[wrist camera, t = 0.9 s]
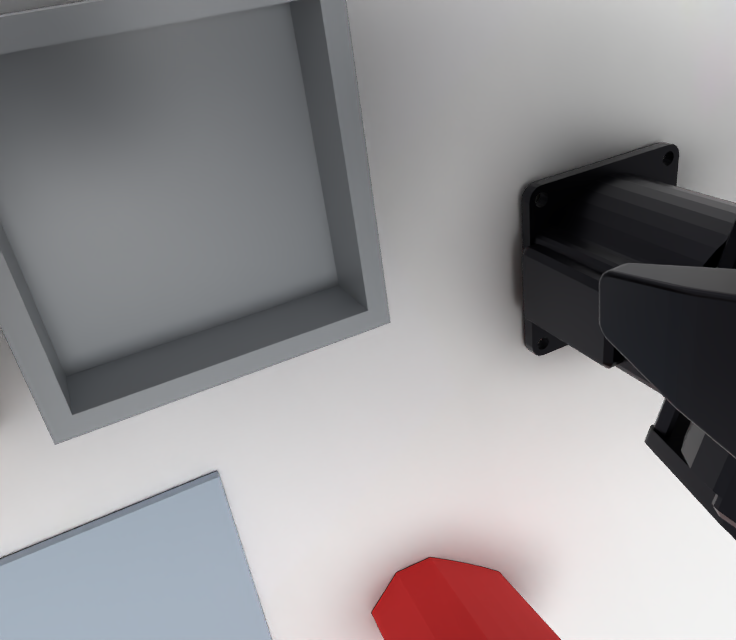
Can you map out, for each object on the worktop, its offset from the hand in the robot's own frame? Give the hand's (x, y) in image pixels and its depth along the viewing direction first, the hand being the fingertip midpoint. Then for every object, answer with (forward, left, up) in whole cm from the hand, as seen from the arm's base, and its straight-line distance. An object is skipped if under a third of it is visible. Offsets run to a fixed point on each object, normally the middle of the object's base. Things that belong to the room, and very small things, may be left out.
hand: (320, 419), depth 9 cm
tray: (0, 0, -11) cm, 11 cm away
